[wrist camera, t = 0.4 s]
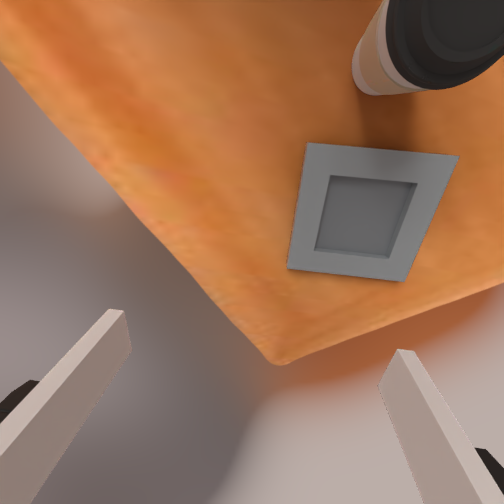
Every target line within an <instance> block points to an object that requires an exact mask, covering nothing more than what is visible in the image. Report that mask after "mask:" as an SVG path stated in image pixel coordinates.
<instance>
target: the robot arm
mask: <svg viewBox="0 0 504 504" xmlns="http://www.w3.org/2000/svg"><path fill="white" fill-rule="evenodd" d="M131 351H132V348H131V343H130V338H129V333H128V328H127V323H126V318H125V313H124V311H121V310H114V309H108V310H107V311H106V313H105V314H104V315H103V316H102V317H101V318H100V319H99V320H98V321H97V322H96V323H95V324H94V325H93V326H92V327H91V328H90V329H89V330H88V332H87V333H86V334H85V335H84V336H83V337H82V338H81V339H80V340H79V341H78V342H77V343H76V344H75V345H74V346H73V347H72V348H71V349H70V351H69V352H68V353H67V354H66V355H65V356H64V357H63V358H62V359H61V360H60V361H59V362H58V363H57V364H56V365H55V366H54V367H53V369H52V370H51V371H50V372H49V373H48V374H47V375H46V376H45V377H44V378H43V379H42V380H41V381H34V380H29V381H28V382H26V383H25V384H23V385H22V386H20V387H19V388H17V389H16V390H14V391H13V392H11V393H10V394H9V395H8V396H7V397H6V398H5V399H4V400H3V401H2V402H1V403H0V504H30V503H31V502H32V500H33V499H34V497H35V496H36V494H37V493H38V491H39V489H40V488H41V487H42V485H43V484H44V482H45V481H46V479H47V478H48V476H49V475H50V473H51V472H52V470H53V468H54V467H55V465H56V464H57V462H58V461H59V460H60V458H61V456H62V455H63V453H64V452H65V450H66V449H67V447H68V446H69V444H70V443H71V441H72V440H73V438H74V437H75V435H76V434H77V432H78V431H79V429H80V428H81V426H82V425H83V423H84V422H85V420H86V419H87V417H88V416H89V414H90V412H91V411H92V410H93V408H94V407H95V405H96V404H97V402H98V401H99V399H100V398H101V396H102V394H103V393H104V392H105V390H106V389H107V387H108V386H109V384H110V383H111V381H112V379H113V378H114V377H115V375H116V373H117V372H118V370H119V369H120V367H121V366H122V364H123V363H124V361H125V360H126V358H127V357H128V355H129V354H130V352H131ZM378 388H379V391H380V394H381V396H382V399H383V401H384V404H385V406H386V409H387V411H388V414H389V416H390V419H391V421H392V424H393V426H394V429H395V432H396V434H397V437H398V439H399V442H400V444H401V447H402V449H403V452H404V454H405V457H406V459H407V462H408V465H409V467H410V469H411V472H412V475H413V477H414V480H415V482H416V485H417V487H418V490H419V492H420V495H421V498H422V500H423V503H424V504H504V468H503V467H502V466H501V465H500V464H499V463H498V462H497V461H496V460H495V458H493V456H492V455H491V454H490V453H489V452H488V451H487V450H486V449H480V448H474V447H473V445H472V444H471V442H470V441H469V439H468V437H467V436H466V434H465V433H464V431H463V429H462V428H461V426H460V424H459V423H458V421H457V420H456V418H455V416H454V415H453V413H452V411H451V410H450V408H449V407H448V405H447V404H446V402H445V400H444V399H443V397H442V396H441V394H440V392H439V391H438V389H437V388H436V386H435V384H434V383H433V381H432V379H431V378H430V376H429V375H428V373H427V372H426V370H425V368H424V366H423V365H422V363H421V362H420V360H419V359H418V357H417V355H416V354H415V352H414V351H409V350H402V349H397V350H396V352H395V354H394V356H393V358H392V360H391V361H390V364H389V365H388V367H387V369H386V371H385V373H384V375H383V377H382V378H381V380H380V382H379V384H378Z"/></svg>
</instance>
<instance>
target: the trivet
mask: <svg viewBox="0 0 504 504" xmlns="http://www.w3.org/2000/svg"><path fill="white" fill-rule="evenodd" d="M459 157H460V156H455V155H446V154H435V153H424V152H413V151H401V150H390V149H379V148H368V147H356V146H345V145H334V144H323V143H311V142H306V146H305V152H304V158H303V164H302V171H301V177H300V183H299V189H298V195H297V201H296V207H295V213H294V219H293V225H292V231H291V237H290V244H289V250H288V256H287V262H286V263H287V269H296V270H305V271H314V272H322V273H331V274H340V275H348V276H357V277H366V278H375V279H383V280H392V281H401V282H405V279H406V277H407V275H408V273H409V270H410V268H411V266H412V263H413V261H414V259H415V257H416V254H417V252H418V250H419V248H420V245H421V243H422V241H423V238H424V236H425V234H426V232H427V229H428V227H429V225H430V223H431V220H432V218H433V216H434V213H435V211H436V209H437V207H438V204H439V202H440V200H441V198H442V195H443V193H444V191H445V188H446V186H447V184H448V182H449V179H450V177H451V175H452V172H453V170H454V168H455V166H456V163H457V161H458V159H459Z"/></svg>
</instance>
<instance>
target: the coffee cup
mask: <svg viewBox="0 0 504 504" xmlns="http://www.w3.org/2000/svg"><path fill="white" fill-rule="evenodd" d="M503 55H504V0H383V1H382V3H381V5H380V6H379V8H378V10H377V11H376V13H375V15H374V17H373V18H372V20H371V22H370V23H369V25H368V27H367V29H366V31H365V33H364V35H363V36H362V38H361V39H360V41H359V43H358V45H357V47H356V49H355V52H354V55H353V59H352V75H353V79H354V82H355V84H356V85H357V87H358V88H359V89H360V90H361V91H362V92H364V93H366V94H368V95H374V96H377V95H394V94H402V93H410V92H418V91H426V90H439V89H447V88H451V87H455V86H458V85H461V84H463V83H465V82H467V81H469V80H471V79H473V78H475V77H477V76H478V75H480V74H481V73H483V72H484V71H485V70H487V69H488V68H489V67H490V66H492V65H493V64H494V63H495V62H496V61H497V60H498V59H500V58H501V57H502V56H503Z"/></svg>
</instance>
